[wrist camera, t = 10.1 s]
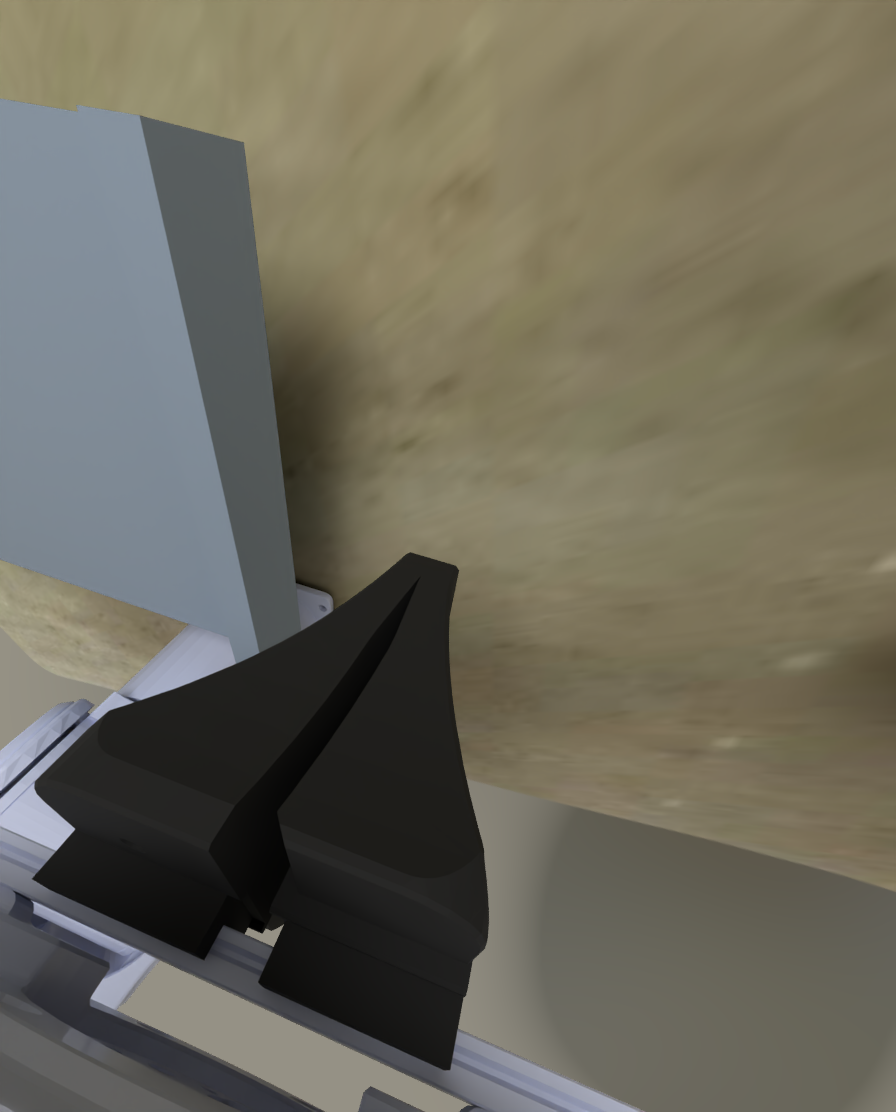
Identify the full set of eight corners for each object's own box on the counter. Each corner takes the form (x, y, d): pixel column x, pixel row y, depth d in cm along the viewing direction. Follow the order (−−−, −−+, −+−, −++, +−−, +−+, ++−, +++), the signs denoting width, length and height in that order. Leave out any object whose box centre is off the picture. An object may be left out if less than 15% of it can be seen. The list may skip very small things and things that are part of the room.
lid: (303, 645, 19) (268, 694, 17) (3, 545, 21) (-59, 577, 19) (244, 142, 9) (139, 115, 7) (-327, 44, 11) (-535, 1, 9)
